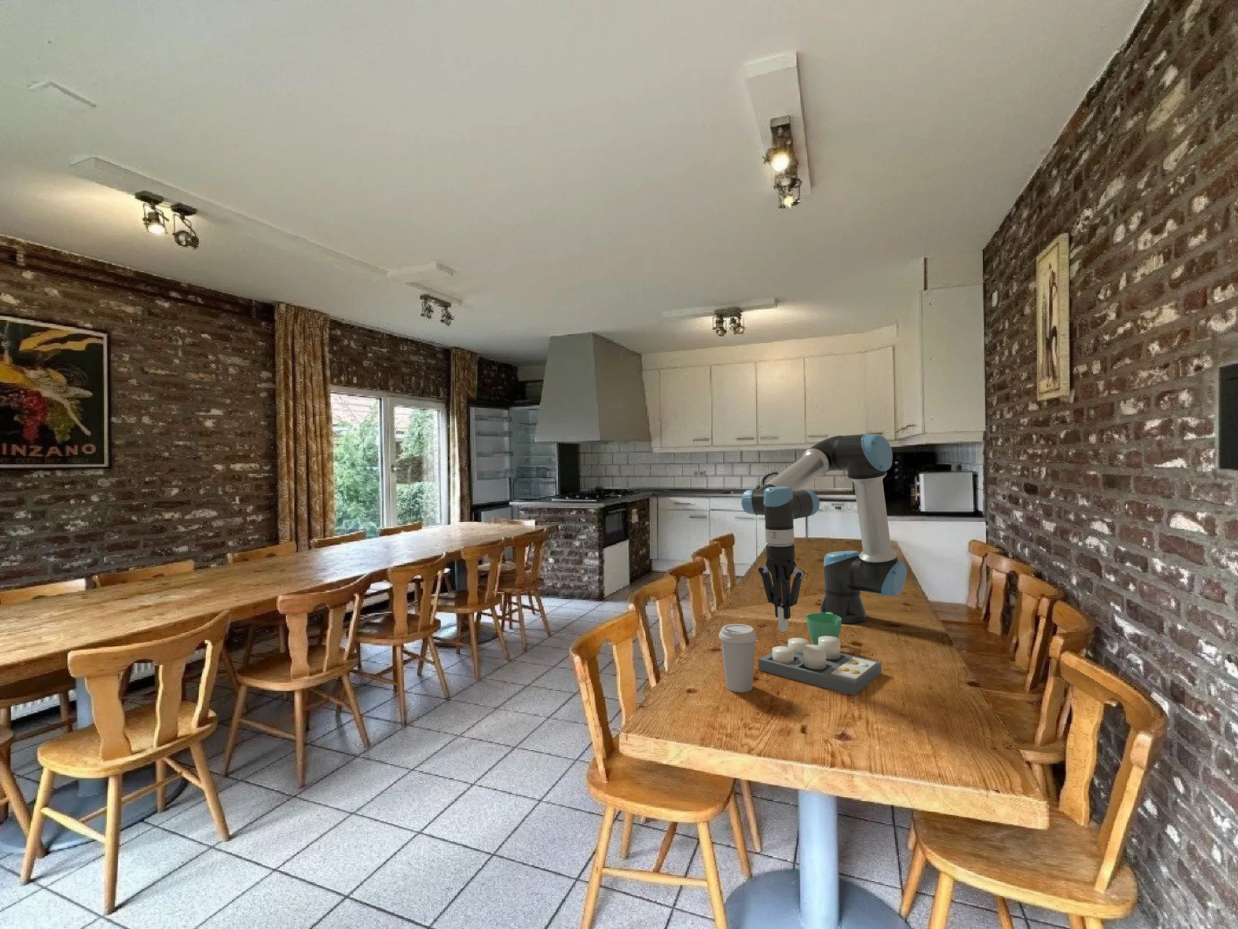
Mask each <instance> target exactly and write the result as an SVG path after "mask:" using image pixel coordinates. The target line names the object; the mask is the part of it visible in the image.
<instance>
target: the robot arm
mask: <svg viewBox="0 0 1238 929" xmlns="http://www.w3.org/2000/svg"><path fill="white" fill-rule="evenodd" d="M893 457H894V456H893V450H892V447H891V444H890V442H889V441H888V440H887V438H885V436H883V435H881V434H876V433H875V434H874V433H873V434H871V433H864V434H863V433H861V434H847V435H834V436H831V437H827V438H826V439H825V438H824V439H823V440H821V441H819V442H817V443H816V444H813V445H812V446H811V447H809V448H808V449H807V450H804V452H803V454H802V455H801V457H800V459H798V460H796V461H795V462H794V463H792V464H791V465H790V466H788V467H787V468H786V469H784V470H783V471H782V472H780V473H778V475H776V476H775V477H774V478H772V479H771V480H769V481H768V482H766V483H765V484H764V485H763V486H761V487H759V488H758V489H755V488H752V489H747V490H745V491H744V492H743V494H742V496H741V503H740V504H741V507H742V509H743V511H744V512H745V513H746V514H749V515H755V516H764V534H765V535H764V536H765V543H767V544H766V545H765V557H766V561H765V565H763V566H761V567H758V569H757V571H758V572H759V575H760V576H761V579H762V583H763V587H764V592H765V594H766V599H767V603H769V604H772V605H774V615H775V618H777V622H778V623H777V626H778V627H777V628H778V631H779V632H784V633H785V632H786V631H787V630H789V619H791V616H792V615H791V607H794V606H795V605H797V604H798V600H799V595H800V589H801V584H802V580H803V578H804V576H805V575H806V573H805V570H801V569H799V568H798V567H797V564H796V560H795V559H796V556H795V555H796V553H795V552H796V551H795V550H796V548H795V545H794V543H795V532H794V530H795V529H794V528H795V527H794V520H797V519H802V518H808V517H810V516H811V517H812V516H814V515H815V514H816V513H817V512H818V511H819V509H820V506H821V503H820V498H819V496H818V495H817V494H816V492H814V491H812V490H809V489H802V488H803V487H804V486H806V485H807V484H808V483H809V482H810V481H812V480H813V479H815V477H819V476H823V475H825V474H826V473H827V472H833V471H843V472H844V471H847V477H848V479H849V480H851V482H852V483H853V488H854V493H855V494H854V495H855V502H856V507H857V515H858V525H859V531H860V538H861V546H862V551H861V552H859V551H858V550H841V551H833V552H828V553H826V554H825V556H824V557H823V559H824V560H823V572H824V573H823V574H824V575H823V576H824V578H823V579H824V596H823V599H822V603H821V605H820V608H819V613H826V612H831V613H833V614H834V615H837V616H839V617H840V618H841V624H842V623H843V624H856V623H861V622H864V621H866V620H867V612H866V611H867V610H866V609H865V605H864V603H863V600H862V597H861V592H864V593H870V594H875V595H881V596H884V597H885V596H888V597H896V596H898V595H899V594H900V593H901V592H902V590H903V589H904V587H905V584H906V580H907V576H908V575H907V573H908V571H907V570H908V568H907V565H906V564H905V562H904V561H902V560H898V559H899V558H898V554H897V552H896V551H895V550H893V549H892V545H891V544H892V543H891V536H890V527H889V522H888V514H887V504H886V498H885V491H884V490H885V489H884V482H883V479H884V478H885V477H886V476H887V474H888V472H887V471H888V470H890V469H891V467H892V465H893V459H894V458H893ZM792 575H793V580H792V586H791V578H792V577H791V576H792Z"/></svg>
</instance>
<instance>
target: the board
mask: <svg viewBox="0 0 1238 929" xmlns="http://www.w3.org/2000/svg"><path fill="white" fill-rule="evenodd" d="M782 646H786V647H788V642H787V643H785V644H783V645H782ZM840 656H841V657H840V658H839V659H826V668H824V669H810V668H807V667H805V666H804V660H803V655H801V654H796V653H794V662H792V663H791V664H789V665H787V664H783V663H779V662H775V661H773V654H772V651H771V652H769V653H767V654H765V655H763V656H762V657H760V658H758V671H761V672H764V673H768V674H772V675H776V676H779V677H783V678H786V679H791V680H795V681H798V682H801V683H806V684H810V685H813V686H817V687H821V688H823V689H824V688H825V689H827V690H830V691H835V692H838V693H842V694H846V695H850V696H854V697H855V696H856V695H857V694H859V693H860V692H861V691H863V689H865V688H866V687H867V686H868V685H869V684H870V683H872V682H873V681H875V679H876V678H878V677H879V676H881V674H882V661H878V660H872V659H869V658H864V657H859V656H857V655H850V654H847V653H841V652H840Z"/></svg>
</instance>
